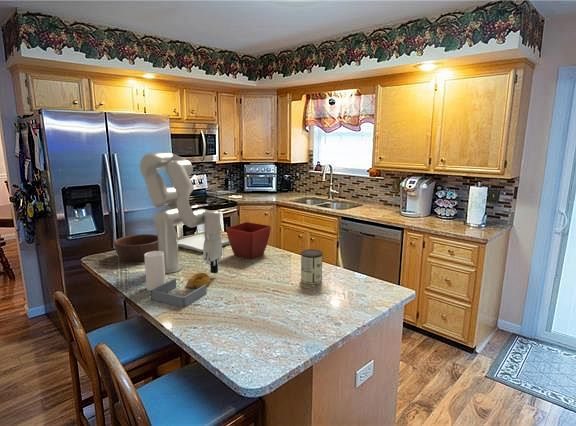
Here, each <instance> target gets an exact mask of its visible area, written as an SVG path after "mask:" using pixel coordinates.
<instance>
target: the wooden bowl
mask: <svg viewBox="0 0 576 426" xmlns="http://www.w3.org/2000/svg"><path fill="white" fill-rule="evenodd" d="M113 247H114V251H115V253H116V255H117V257H118V259H119V260H121V261H122V262H129V263H140V262H145V258H144V254H145V253H148V252H152V251H159V249H158V236H157V235H156V234H149V233H148V234H145V233H143V234H141V233H140V234H133V235H132V234H131V235H126V236H123V237H122V236H121V237H120V238H117V239H115V240H114V241H113Z"/></svg>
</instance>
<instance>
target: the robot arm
mask: <svg viewBox="0 0 576 426" xmlns="http://www.w3.org/2000/svg"><path fill="white" fill-rule="evenodd" d="M139 170H140V173H141V175H142V178H143V180H144V182H145V185H146V188H147V191H148V194H149V198H150V201H151V203H152V205H153V206H154V207H155V208H163V207H167V208H164V209H161V210H159V211H157V212H156V214H155V215H154V219H153V220H154V226H155V229H156V234H157V236H158V249H159V251H161V252H163V253H164V264H165V274H172V273H177V272H179V271H181V270H182V269H183V265H182V264H180V263H179V246H178V234H177V231H176V229H175V226H179V225H182V224H183V223H184V225H185V226H186V227H188V228H195V227H199V226H201V225H203V226H204V227H203V228H204V234H205V240H204V247H203V252H202V253H203V254H202V258H203V260H204V261H205V264H206V265H209V266H210V267H209V268H210V273H211V274H217V273H219V262H220V259H221V258H222V256H223V246H222V242H221V237H222V236H221V232H222V231H221V213H220V212H219V211H218V210H210V209H209V210H208V209H205V208H199V209H194V210H193V209H192V208H191V205H190V200H189V199H190V196H191V194H192V192H193V191H194V189H195V186H194V184H193V182H192V181H191V179H190V177H189V176H191V175H192V174H193V173H194V167H193V165H192V163H191V161H190V160H187V158H184V157H182V156H179V155H177V154H176V153H173V152H171V151H170V152H169V151H162V152H161V151H160V152H159V151H157V152H156V151H155V152H154V151H153V152H149V153H145V155H143V156H142V158H141V159H140V162H139ZM159 170H165V171H166V173H167V174H166V175H167V176H168V178H169V180H170V182H171V184H172V186H166V184H165V181H164V178H163V176H162V174H160V173H159V172H158V171H159Z"/></svg>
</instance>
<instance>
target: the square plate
mask: <svg viewBox="0 0 576 426" xmlns="http://www.w3.org/2000/svg"><path fill="white" fill-rule="evenodd" d="M177 240H178V239H177ZM204 240H205V233H200V234H196V235H193V236H188V237H185V238H182V239H179V240H178V248H183V249H187V250H192V251H194V252H199V253H203V247H204ZM221 242H222V247H224V246H226V245H230V243H229V239H228V238H225V237H222V236H221Z"/></svg>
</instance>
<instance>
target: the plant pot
mask: <svg viewBox="0 0 576 426" xmlns="http://www.w3.org/2000/svg"><path fill="white" fill-rule="evenodd" d="M271 228H272V225H266V224H261V223H255V222H249V221H248V222H247V221H245V222H241V223H237V224H235V225H232V226H228V227H226V228H225V230H226V235H227V239H229V245H230V248H231V250H232V253H233V255H234V256H235V257H240V258H244V259H249V260H252V259H255V258H257V257H259V256H261V255H263V254H264V253H265V250H266V248H267V245H268V242H269V238H270V234H271Z"/></svg>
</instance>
